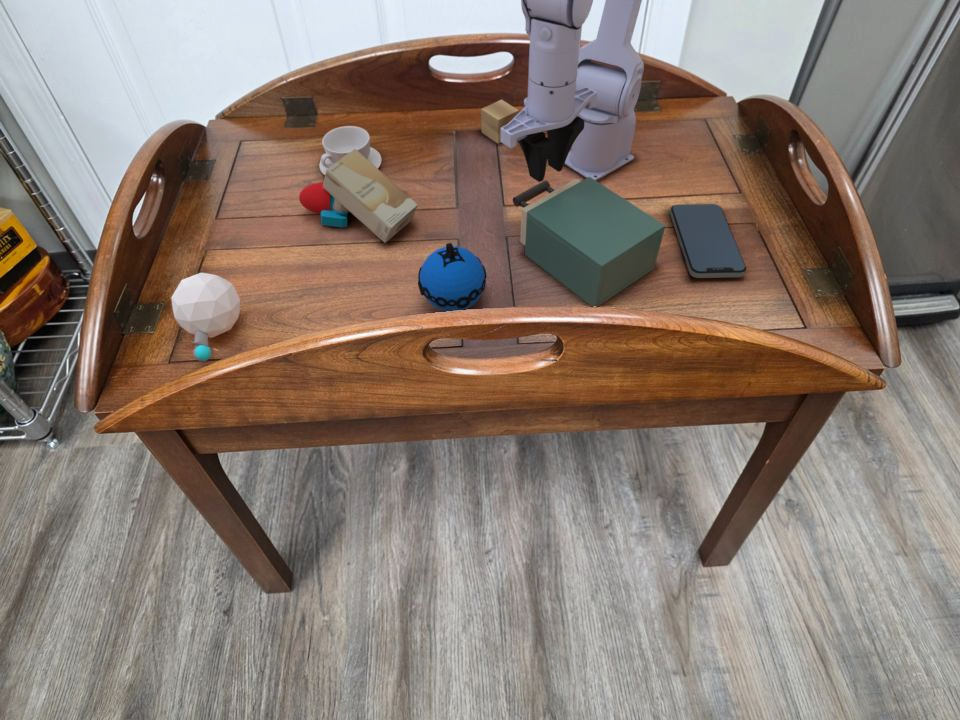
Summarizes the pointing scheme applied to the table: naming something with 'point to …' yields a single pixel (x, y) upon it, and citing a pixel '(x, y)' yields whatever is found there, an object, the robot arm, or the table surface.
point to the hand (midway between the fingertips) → (545, 172)
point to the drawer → (533, 192)
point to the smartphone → (707, 241)
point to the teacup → (347, 146)
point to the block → (496, 118)
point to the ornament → (452, 278)
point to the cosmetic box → (369, 195)
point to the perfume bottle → (205, 309)
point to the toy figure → (324, 205)
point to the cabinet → (592, 240)
